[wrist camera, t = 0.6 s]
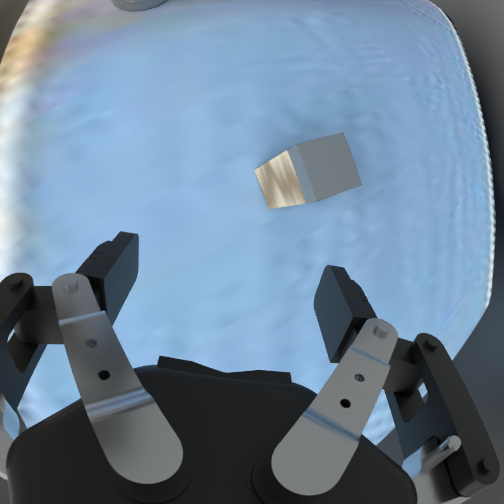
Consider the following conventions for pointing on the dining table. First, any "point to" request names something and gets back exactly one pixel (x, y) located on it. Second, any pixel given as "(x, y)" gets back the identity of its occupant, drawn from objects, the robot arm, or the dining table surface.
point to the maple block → (308, 172)
